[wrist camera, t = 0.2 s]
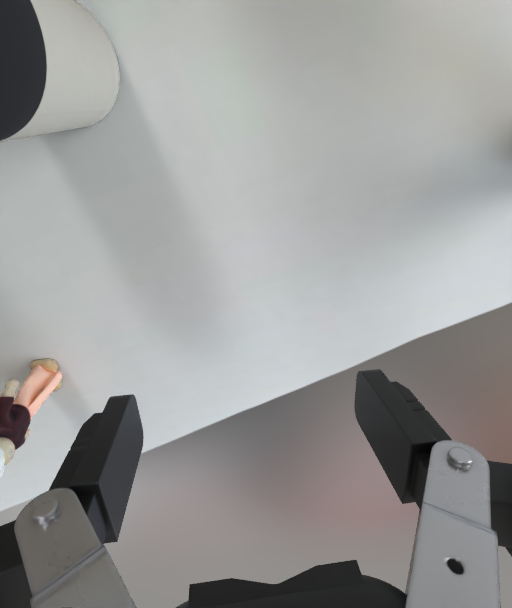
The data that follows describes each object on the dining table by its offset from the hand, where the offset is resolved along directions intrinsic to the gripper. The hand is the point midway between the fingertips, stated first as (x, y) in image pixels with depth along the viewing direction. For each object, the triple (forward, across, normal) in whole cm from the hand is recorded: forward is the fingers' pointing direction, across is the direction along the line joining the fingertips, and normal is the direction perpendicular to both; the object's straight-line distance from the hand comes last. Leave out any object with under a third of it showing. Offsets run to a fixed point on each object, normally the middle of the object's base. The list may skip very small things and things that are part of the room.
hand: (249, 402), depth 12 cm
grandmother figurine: (+24, +21, +12) cm, 34 cm away
